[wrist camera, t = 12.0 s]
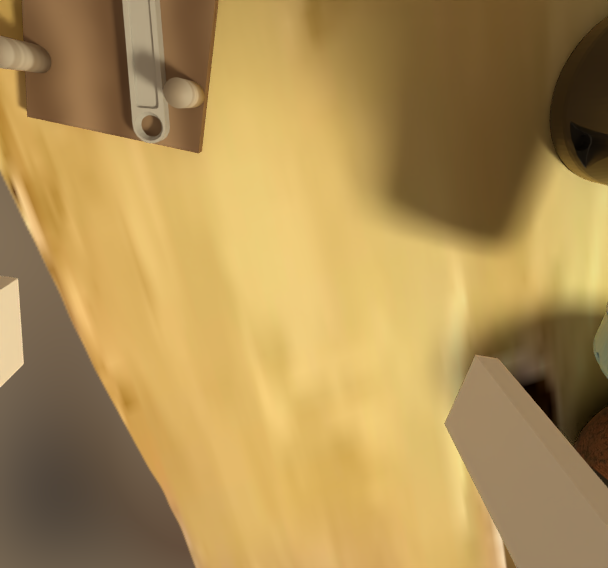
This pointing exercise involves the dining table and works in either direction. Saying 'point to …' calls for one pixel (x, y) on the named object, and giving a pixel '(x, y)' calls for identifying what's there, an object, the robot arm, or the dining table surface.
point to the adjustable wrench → (146, 65)
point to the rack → (112, 66)
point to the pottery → (595, 443)
